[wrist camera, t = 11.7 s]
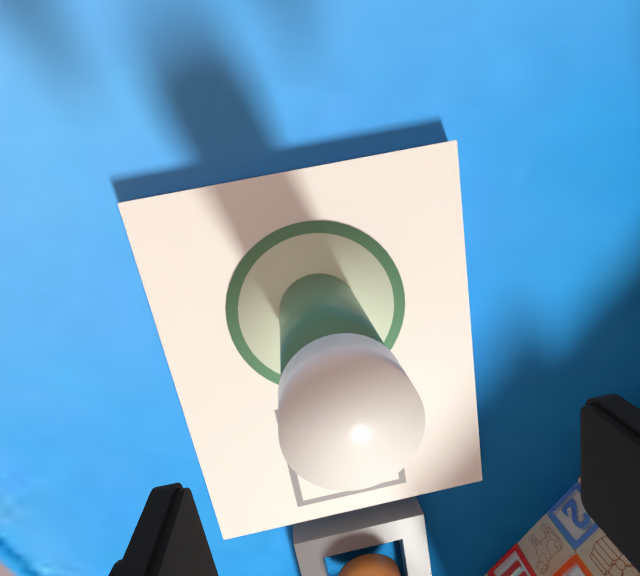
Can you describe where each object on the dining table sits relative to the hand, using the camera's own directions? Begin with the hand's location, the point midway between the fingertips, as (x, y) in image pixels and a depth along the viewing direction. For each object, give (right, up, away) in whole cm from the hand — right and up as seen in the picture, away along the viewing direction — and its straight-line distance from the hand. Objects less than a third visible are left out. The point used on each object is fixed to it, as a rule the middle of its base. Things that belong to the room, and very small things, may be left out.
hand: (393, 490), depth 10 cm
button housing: (+1, -13, +18) cm, 22 cm away
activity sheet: (-1, +1, +13) cm, 14 cm away
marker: (-2, +4, +12) cm, 12 cm away
